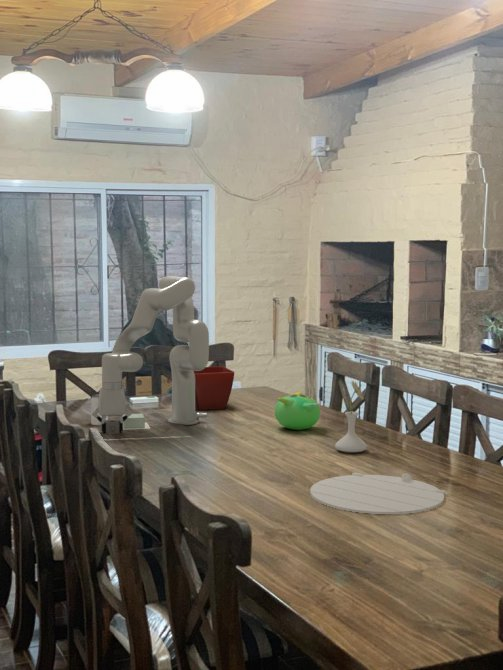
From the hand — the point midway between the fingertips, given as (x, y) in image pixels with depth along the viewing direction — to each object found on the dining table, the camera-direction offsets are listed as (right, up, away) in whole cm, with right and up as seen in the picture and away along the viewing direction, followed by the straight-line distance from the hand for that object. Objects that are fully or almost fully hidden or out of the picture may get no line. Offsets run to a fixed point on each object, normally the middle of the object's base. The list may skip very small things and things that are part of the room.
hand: (112, 432), depth 345 cm
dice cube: (0, -1, +1) cm, 1 cm away
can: (-7, +1, +16) cm, 17 cm away
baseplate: (+7, +1, +12) cm, 14 cm away
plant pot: (+34, +5, +57) cm, 67 cm away
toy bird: (+71, 0, +13) cm, 72 cm away
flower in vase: (+89, -4, -22) cm, 91 cm away
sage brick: (+7, +1, +12) cm, 14 cm away
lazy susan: (+90, -11, -77) cm, 119 cm away
